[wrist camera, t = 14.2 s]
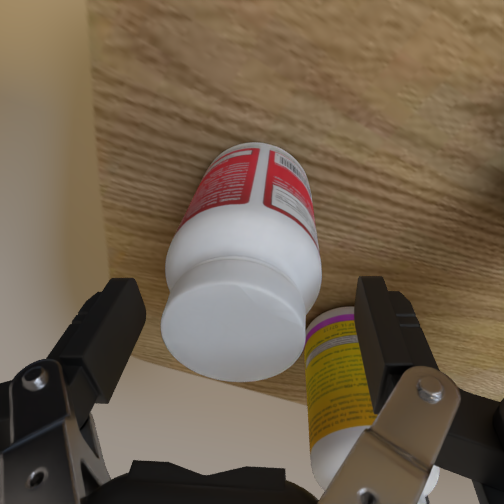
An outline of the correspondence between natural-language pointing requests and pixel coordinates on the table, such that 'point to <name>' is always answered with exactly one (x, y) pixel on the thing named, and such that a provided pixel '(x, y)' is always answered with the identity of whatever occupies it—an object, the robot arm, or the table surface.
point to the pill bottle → (243, 267)
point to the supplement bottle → (338, 394)
